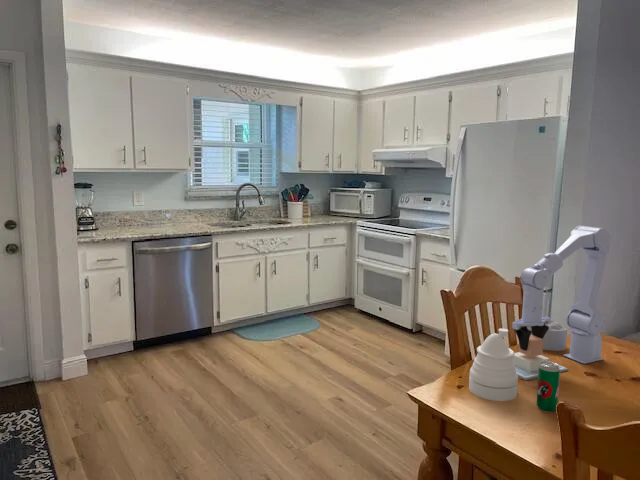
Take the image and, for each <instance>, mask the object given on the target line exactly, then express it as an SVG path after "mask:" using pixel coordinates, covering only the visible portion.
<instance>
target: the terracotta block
mask: <svg viewBox="0 0 640 480" xmlns="http://www.w3.org/2000/svg"><path fill="white" fill-rule="evenodd" d="M543 340H544V339H542V338H539V337H536V336H533V335H530V338H529V343H528V348H527V351H525V350H522V349H520V344H519V343H518V347H517V348H518V349H517V352H520V353H523V354H525V355H527V356H530V357H534V356H538V355H542V356H543V354H544V353H543V351H544V349H543Z"/></svg>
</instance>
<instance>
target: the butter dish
mask: <svg viewBox="0 0 640 480" xmlns="http://www.w3.org/2000/svg"><path fill="white" fill-rule="evenodd" d="M514 353H515V354H514V357H512V360H513V362H514V364H515V366H514V367H515V369H516V373H517V375H518V378H520V379H522V380H524V381H528V380H533V379H538V371H539V366H540V365H541V362H544V361H548V362H552V361H550V358H549V357H547V356H544V355H543V354H542V355H538V356H534V357H530V356H527V355H525V354H523V353H520V352H518V351H517V352H514ZM558 365H559V369H560V373H562V372H566V371H568V370H569V369H568V368H567V367H565V366H562V365H560V364H558Z"/></svg>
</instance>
